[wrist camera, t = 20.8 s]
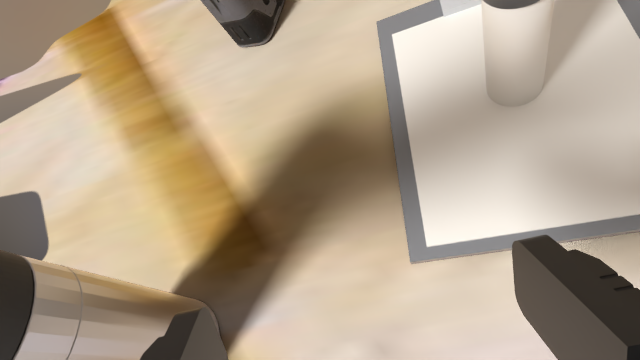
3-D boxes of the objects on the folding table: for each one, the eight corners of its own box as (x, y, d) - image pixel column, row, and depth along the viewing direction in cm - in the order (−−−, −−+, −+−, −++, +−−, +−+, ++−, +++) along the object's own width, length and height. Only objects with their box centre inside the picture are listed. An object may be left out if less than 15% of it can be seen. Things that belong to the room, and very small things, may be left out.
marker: (492, 113, 33) (486, -31, 22) (479, 73, 35) (467, -77, 24) (552, 98, 32) (580, -66, 20) (534, 57, 34) (551, -112, 22)
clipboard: (411, 263, 31) (407, 258, 30) (378, 25, 45) (373, 15, 43) (767, 213, 24) (782, 204, 22) (599, -57, 37) (602, -73, 36)
